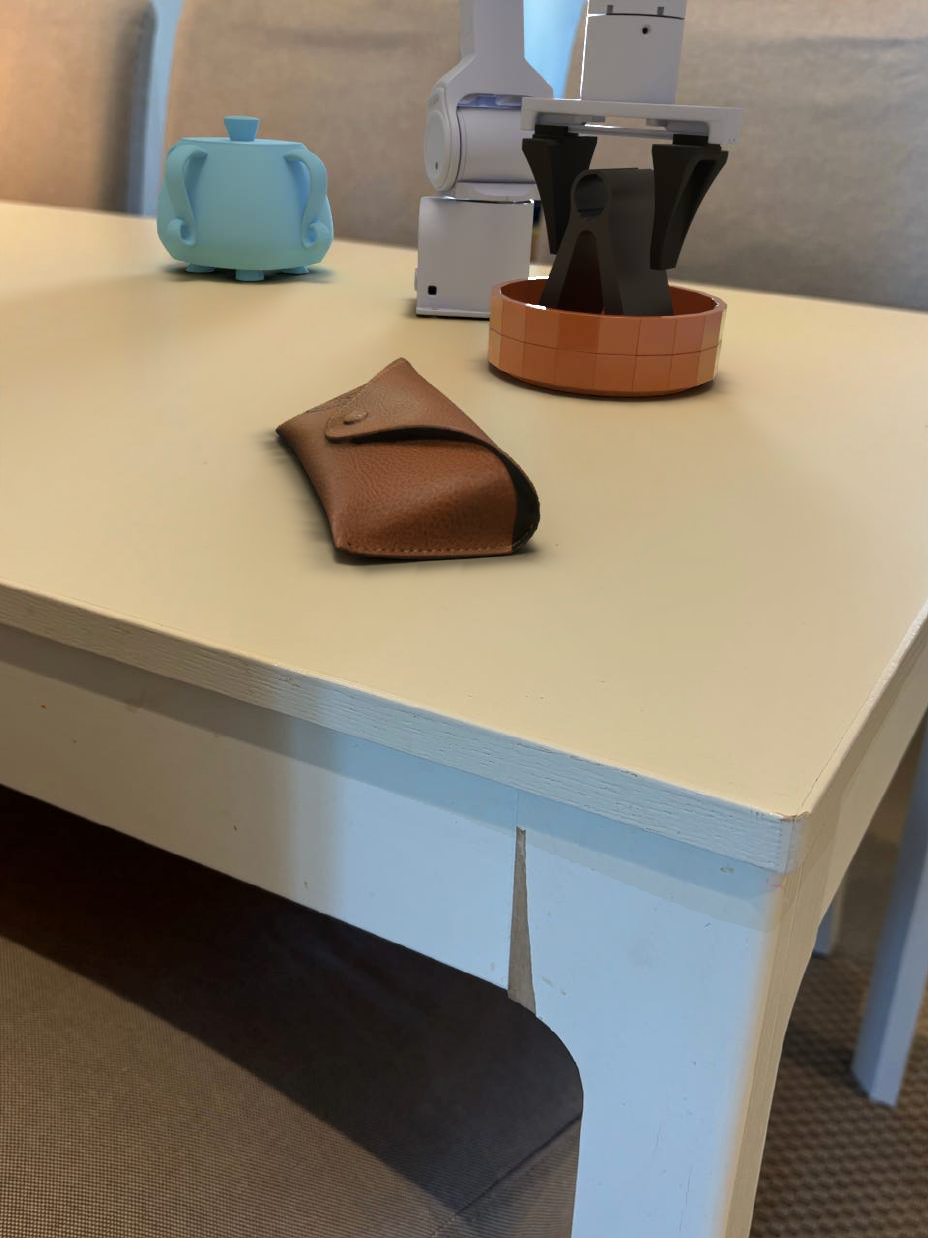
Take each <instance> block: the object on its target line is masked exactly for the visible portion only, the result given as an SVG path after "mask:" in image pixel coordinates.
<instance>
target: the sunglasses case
mask: <svg viewBox="0 0 928 1238" xmlns="http://www.w3.org/2000/svg"><path fill="white" fill-rule="evenodd" d="M275 433H276V434H277V435H278V437H280V438H281V439H282V441H284V442H285V443H286V444H287V445H288V446H289V448H290V449H291V450H292V452H293V453H294V454H295V456H296V457H297V459H298V461H299V462H300V464H301V466H302V467H303V469H304V471H305V473H306V475H307V476H308V478H309V480H310V481H311V484H312V485H313V487H314V489H315V491H316V493H317V496H318V498H319V500H320V502H321V505H322V506H323V508H324V511H325V514H326V517H327V520H328V522H329V526H330V533H331V539H332V544H333V546H334V547H335V549H336V550H337V551H342V552H344V553H348V554H351V555H355V556H359V557H369V558H370V557H371V558H374V557H375V558H388V559H399V560H441V559H443V560H444V559H454V558H455V559H456V558H457V559H459V558H474V557H492V556H493V557H494V556H499V555H505V556H507V555H510V554H512V553H514V552H516V551H517V550H518V549H520V548H522V547H524V546H525V545H526V544H527V543H528V542H529V541H530V540H531V538H533V536H534V535H535V533H536V532H537V530H538V528H539V524H540V522H541V502H540V500H539V499H540V497H539V494H538V492H537V489H536V487H535V486H534V483H533V482H532V481H531V480H530V477H529V476H528V475H527V473H526V472H525V470H523V468H522V467H521V465H520V464H519V463H518V462H517V461H515V460H514V458H512V457H513V456H510V454H509V453H508V452H506V451H504V450H503V449H502V448H500V447H499V446H498V444H496V443H495V441H494V440H492V438H491V437H489V435H488V434H486V433H487V432H485V431H484V430H483V429H482V428H481V427H480V426H479V425H478V424H477V423H476V421H474V420H473V419H472V418H471V417H470V416H469V415H468V414H466V412H464V411H463V410H462V409H461V408H460V407H459V406H458V405H457V404H456V403H455V402H453V401H452V400H451V399H450V398H449V397H448V396H446V394H444V393H443V392H442V391H441V390H440V389H439V388H437V387H436V386H434V385H433V384H432V383H430V382H429V381H428V380H427V379H426V378H424V376H422V375H421V374H420V373H419V372H418V371H417V370H416V369H415V368H414V366H413V365H412V364H411V363H410V362H409V360H407V358H405V357H401V356H400V357H399V358H397V359H395V360H393V361H392V362H390V363H389V364H387V365H386V366H384V367H383V368H382V369H381V370H380V371H378V373H376V374H375V376H373V377H372V378H371V379H370V380H369V381H368V382H366V383H364V384H362V385H359V386H357V387H355V388H353V389H351V390H349V391H347V392H344V393H342V394H339V395H338V396H335V397H333V398H332V399H329V400H327V401H325V402H323V403H321V404H319V405H316V406H314V407H313V408H310V409H307V410H306V411H303V412H301V413H300V414H297V415H295V416H293V417H291V418H289V419H287V420H285V421H284V422H282V423H280V424H278V426H277V427H276V428H275Z"/></svg>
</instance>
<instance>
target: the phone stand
mask: <svg viewBox="0 0 928 1238" xmlns="http://www.w3.org/2000/svg"><path fill="white" fill-rule="evenodd" d="M570 198H571V211H570V218H569V222H568V226H567V229H566V231H565V234H564V237H563V239H562V242H561V245H560V247H559V250H558V253H557V255H555V258H554V261H553V263H552V266H551V268H550V271H549V274H548V276H547V277H548V279H547V282H546V284H545V287H544V290H543V292H542V295H541V298H540V300H539V303H538V306H540V307H545V308H551V309H557V310H563V311H572V312H581V313H590V314H600V315H601V313H602V310H603V307H604V313H605V315H618V316H674V313H673V307H672V302H671V296H670V290H669V285H670V284H669V279H668V273H667V269H666V270H653V269H650V247H651V239H652V231H653V222H654V212H655V184H654V169H652V168H639V167H616V168H615V167H613V168H612V167H611V168H589V169H586V170H584V171H582V172H581V173H580V174H579V175H578V176H577V177H576V179H575V180H574V182H573V185H572V188H571V194H570Z"/></svg>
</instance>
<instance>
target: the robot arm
mask: <svg viewBox="0 0 928 1238" xmlns="http://www.w3.org/2000/svg"><path fill="white" fill-rule="evenodd" d="M458 2H459V3H458V4H459V29H460V30H459V37H460V40H459V41H460V62H458V63H457V64H456V65H455V66H453V68H451V69H450V70H448V72H446V73H445V74H443V76H442V77H440V78H439V79H438V80H437V81H436V82H435V83H434V84H433V86H432V87H431V90H430V92H429V93H428V96H427V101H426V123H425V124H426V125H425V127H424V128H425V129H424V135H423V161H424V162H423V163H424V168H425V171H426V176H427V178H428V180H429V181H430V183H431V184H432V186H433V187H434V189H435V190H436V191H437V194H438V195H441V196H422V197H420V201H419V212H418V227H417V228H418V232H417V267H416V268H415V269H414V282H413V287H414V289H413V290H414V291H415V292H416V306H415V313H416V315H421V316H439V317H441V316H442V317H458V318H459V317H460V318H462V317H463V318H482V319H490V304H491V287H492V286H494V285H497V284H499V283H501V282H504V281H510V280H516V279H522V278H530V267H531V266H530V265H531V252H532V238H533V237H532V236H533V224H534V223H533V222H534V208H535V201H540V203H541V207H542V212H543V216H544V221H545V227H546V234H547V240H548V249H549V254H550V255H554V256H556V255H557V253H558V250H559V247H560V245H561V242H562V239H563V237H564V234H565V231H566V229H567V226H568V222H569V218H570V211H571V198H570V194H571V188H572V185H573V182H574V180H575V179H576V177H577V176H578V175H579V174H580V173H581V172H582V171H584V170H586V169H590V167H591V164H592V159H593V156H594V155H595V154H594V153H595V150H596V147H597V145H598V138H599V137H598V136H609V137H623V138H624V137H625V138H636V139H649V140H650V139H651V140H664V141H665V140H666V141H672V142H671V143H652V145H651V158H652V168H653V169H652V170H654V184H655V212H654V222H653V231H652V239H651V247H650V269H653V270H666V271H667V270H671V269H676V267H677V264H678V260H679V257H680V254H681V252H682V249H683V246H684V243H685V240H686V237H687V235H688V233H689V230H690V228H691V226H692V223H693V221H694V218H695V216H696V214H697V212H698V210H699V208H700V206H701V204H702V202H703V200H704V199H705V197H706V195H707V193H708V191H709V190H710V188H711V186H712V184H713V183H714V181H715V180H716V179H717V177H718V176H719V174H720V173H721V171H722V170H723V168H724V167H725V165H726V164H727V162H728V158H729V153H730V151H729V150H728V149H723V146H721V145H739V142H740V135H741V130H742V129H741V128H742V122H743V115H744V108H743V107H729V106H728V107H726V106H710V105H709V106H707V105H691V104H690V105H689V104H688V105H687V104H676V98H677V97H676V96H677V89H678V88H677V87H678V80H679V72H680V65H681V64H680V63H681V56H682V55H681V54H682V47H683V39H684V29H685V23H686V22H685V19H686V12H687V4H688V0H587V11H586V15H587V16H586V22H585V23H586V24H585V33H584V35H585V36H584V45H583V46H584V47H583V60H582V69H581V70H582V71H581V83H580V97H579V99H572V98H571V99H569V98H555V95H554V88H553V86H552V85H551V84H550V83H549V82H548V81H547V79H545V77H543V75H541V74H540V73H539V72H538V71H537V70H536V69H535V68H534V66H532V65H531V64H530V62H528V60H527V59H526V58H525V19H524V18H525V13H524V12H525V11H524V7H525V5H524V0H458ZM607 118H623V119H624V118H625V119H642V120H646V121H645V126H646V127H656V128H664V129H654V128H653V129H650V128H636V127H635V128H634V127H622V126H606V125H591V124H587V123H603V124H604V123H606V119H607Z"/></svg>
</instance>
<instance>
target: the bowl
mask: <svg viewBox="0 0 928 1238" xmlns="http://www.w3.org/2000/svg"><path fill="white" fill-rule="evenodd" d="M547 279H548V276H536V277H529V278H522V279H516V280H510V281H504V282H501V283H499V284H497V285H494V286H492V287H491V304H490V318H489V324H488V342H487V343H488V344H487V361H488V362H489V363H490V364H492V365H493V366H494V367H495V368H497V369H498V370H500V371H501V372H505V373H507V375H509V376H511V377H513V378H514V379H517V380H519V381H522V382H524V383H527V384H529V385H533V386H537V387H540V388H545V389H549V390H554V391H560V392H565V393H572V394H579V395H589V396H599V397H619V398H620V397H621V398H623V397H624V398H628V397H630V398H637V397H655V396H656V397H657V396H664V395H672V394H677V393H681V392H684V391H687V390H690V389H692V388H693V387H694V388H695V387H698V386H700V385H702V384H703V385H704V384H705V383H708V382H711V381H713V380H714V378H715V376H717V374H718V370H719V365H720V357H721V350H722V345H723V337H724V329H725V324H726V317H727V311H728V304H727V303H726V302H725V301H724V300H723V299H722V298H721V297H718V296H716V295H713V294H710V293H708V292H704V291H702V290H697V289H693V288H689V287H684V286H679V285H674V284H669V290H670V296H671V302H672V307H673V313H674V316H618V315H605V313H604V307H603V310H602V313H601V315H600V314H590V313H581V312H572V311H563V310H557V309H551V308H545V307H540V306H538V303H539V300H540V298H541V295H542V292H543V290H544V287H545V284H546V282H547Z"/></svg>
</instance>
